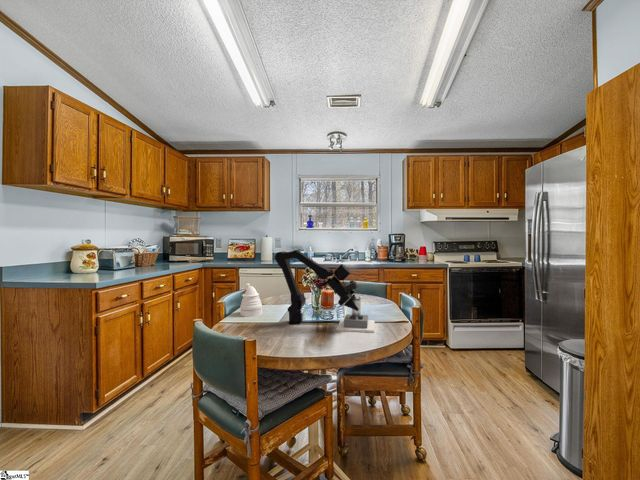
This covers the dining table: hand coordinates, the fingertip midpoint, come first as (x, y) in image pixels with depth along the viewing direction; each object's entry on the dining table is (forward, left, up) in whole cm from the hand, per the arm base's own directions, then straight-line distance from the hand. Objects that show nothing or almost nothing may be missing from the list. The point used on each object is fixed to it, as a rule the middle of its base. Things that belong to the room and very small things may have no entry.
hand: (358, 309), depth 166 cm
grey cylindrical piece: (-1, 0, -7) cm, 7 cm away
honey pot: (-65, +17, -9) cm, 68 cm away
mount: (-1, 0, -9) cm, 9 cm away
